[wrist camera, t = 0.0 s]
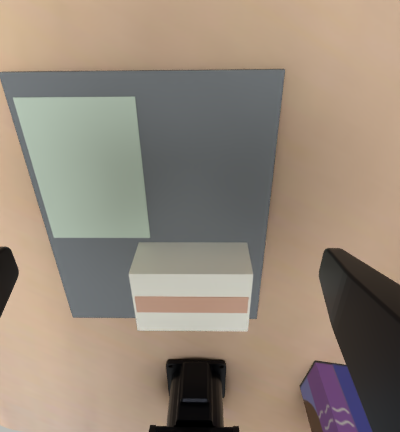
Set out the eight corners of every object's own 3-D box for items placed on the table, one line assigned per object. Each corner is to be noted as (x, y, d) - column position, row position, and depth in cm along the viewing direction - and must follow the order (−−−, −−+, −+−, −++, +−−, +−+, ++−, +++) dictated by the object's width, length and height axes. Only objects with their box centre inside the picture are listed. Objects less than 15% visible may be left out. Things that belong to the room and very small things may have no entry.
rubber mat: (256, 315, 31) (256, 319, 30) (74, 314, 31) (72, 318, 31) (283, 69, 20) (285, 69, 19) (2, 71, 20) (-3, 72, 20)
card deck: (242, 295, 29) (247, 332, 25) (145, 295, 29) (137, 331, 26) (247, 242, 26) (253, 275, 22) (138, 242, 26) (128, 274, 23)
